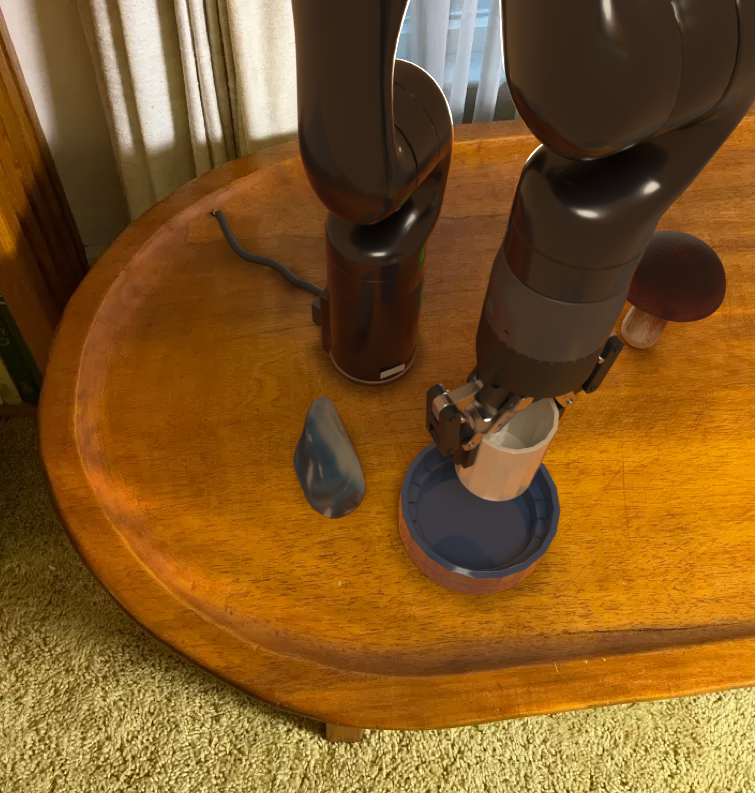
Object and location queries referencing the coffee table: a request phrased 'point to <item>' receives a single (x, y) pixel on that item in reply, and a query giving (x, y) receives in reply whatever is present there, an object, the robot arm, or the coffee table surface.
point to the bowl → (473, 527)
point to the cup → (511, 453)
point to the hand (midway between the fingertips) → (502, 438)
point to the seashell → (328, 463)
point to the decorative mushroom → (672, 286)
